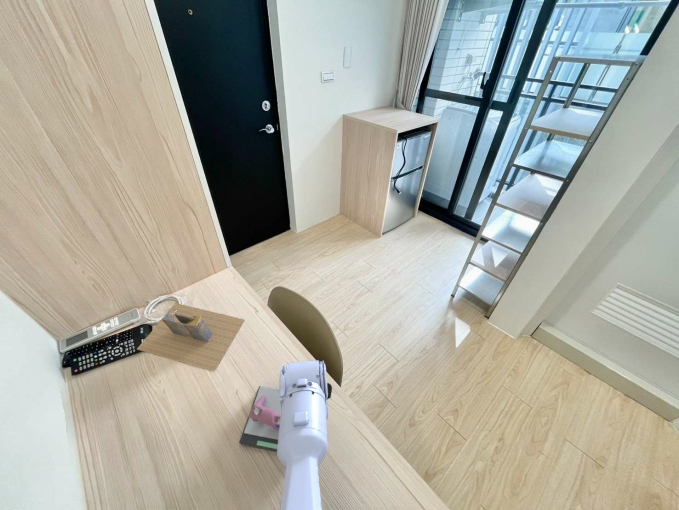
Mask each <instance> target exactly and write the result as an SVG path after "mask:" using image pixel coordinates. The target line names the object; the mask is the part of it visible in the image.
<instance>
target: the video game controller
mask: <svg viewBox="0 0 679 510" xmlns="http://www.w3.org/2000/svg"><path fill="white" fill-rule="evenodd" d="M265 401H266V396H265V395H263V396H262V397H260V399H259V400H258V401H257V402H256V403H255V404H254V406H253V407H252V406H251V408H252V409H251V408H250V410H249V413H248V416H249V417H250V418H251V419H252V421H253V422H258V421H260V422H262V423H264V424H267V425H269V426H272V427H273V428H274V429H275V430H277V431H279V427H280V418H281V414H279V413H277V412H276V411H274V410H273V409H270V408H265V407H263V405H264V403H265Z"/></svg>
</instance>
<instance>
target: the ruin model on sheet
mask: <svg viewBox="0 0 679 510" xmlns="http://www.w3.org/2000/svg"><path fill="white" fill-rule="evenodd" d="M176 310H177V311H176ZM175 311H176V312H175ZM174 312H175V313H174ZM172 313H174V314H172ZM245 321H246V319H243V318H239V317H235V316H232V315H227V314H222V313H217V312H214V311H211V310H206V309H201V308H197V307H193V306H189V305H185V304H181V303H177V302H175V303H174V304H173V306H171V308H170V309H169V310H168V311H167V312H166V314H165V315H164V316H163V317H162V318H161V320H160V321H159V322H158V323H157V325H155V327H154V328H153V329H152V331H151V332H150V333H148V335H147V337H145V338H144V340H143V341H142V342H141V344H139V346H138V347H137V348H136V350H138V351H142V352H144V353H148V354H152V355H155V356H158V357H163V358H165V359H170V360H173V361H177V362H179V363H183V364H187V365H189V366H190V365H191V366H194V367H198V368H201V369H205V370H207V371H208V370H209V371H211V372H216V370H217V368H218V367H219V365H220V363H221V362H222V360H223V358H224V356H225V355H226V353H227V351H228V350H229V348H230V346H231V344H232V343H233V341H234V340H235V338H236V336H237V334H238V333H239V331H240V329H241V327H242V326H243V324H244V322H245Z"/></svg>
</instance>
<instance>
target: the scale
mask: <svg viewBox="0 0 679 510" xmlns="http://www.w3.org/2000/svg"><path fill="white" fill-rule="evenodd" d="M263 395H265V396H266V401H265V403H264V405H263V407H265V408H270V409H273V410H274V411H276V412H277V413H279V414H281V405H280V392H279V388H273V387H267V386H262V385H259V386H258V388H257V391H256V394H255V396H254V400H253V403H252V405H251V407H250V410H251V409H252V407H253V406H254V404H255V403H256V402H257V401H258V400H259V399H260V397H262V396H263ZM278 437H279V431H277V430H275V429H274V428H273V427H272V426H269V425H267V424H264V423H262V422H260V421H258V422H253V421H252V419H251V418H250V417H249V415H248V416H247V419H246V422H245V424H244V427H243V430H242V433H241V436H240V439H239V441H238V443H239V444H240V445H241V446H245V447H249V448H255V449H260V450H265V451H270V452H276V453H277V447H278Z"/></svg>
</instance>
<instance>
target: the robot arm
mask: <svg viewBox="0 0 679 510" xmlns="http://www.w3.org/2000/svg"><path fill="white" fill-rule="evenodd" d="M327 378H328V377H327V367H326V363H325V362H324V360H322V361H320V360H318V359H317V360H309V361H308V360H307V361H298V362H288V363H286V366H285V364H282V365H281V366H280V372H279V378H278V379H279V381H278V385H279V386H278V389H279V392H280V405H281V418H280V427H279V437H278V447H277V452H276V455H277V459H278V460H279V461H280V464H282V466H283V467H284V468H285V472H284V480H283V487H282V493H281V500H280V508H279V510H323V508H322V507H323V506H322V495H321V487H320V486H321V485H320V478H319V477H320V476H319V467H320V465H321V464H322V463H323V461H324V460H325V458H326V456H327V455H328V451H329V441H328V440H329V439H328V427H327V426H328V424H327V423H328V422H327V421H328V418H329V406H328V400H330V399H331V397H332V393H333V386H332V384H331V383H329V382H328V379H327Z"/></svg>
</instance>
